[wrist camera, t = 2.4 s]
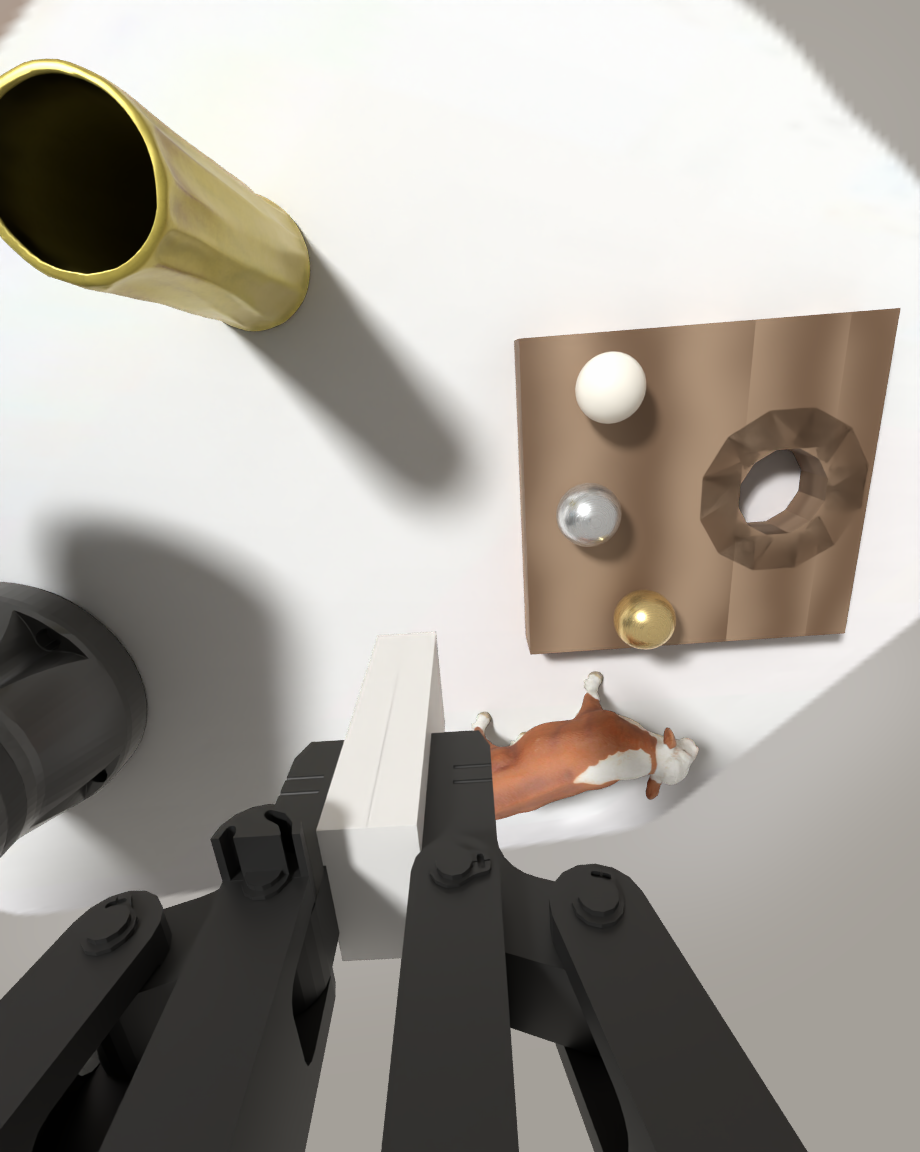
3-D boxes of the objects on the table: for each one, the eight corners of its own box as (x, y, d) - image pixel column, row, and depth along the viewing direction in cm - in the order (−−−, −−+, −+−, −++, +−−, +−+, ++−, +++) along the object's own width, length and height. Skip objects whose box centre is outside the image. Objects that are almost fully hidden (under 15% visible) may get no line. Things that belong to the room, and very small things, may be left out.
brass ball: (606, 635, 33) (621, 662, 30) (607, 583, 32) (622, 605, 29) (662, 631, 33) (683, 658, 30) (665, 579, 32) (687, 601, 29)
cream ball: (569, 422, 29) (583, 429, 26) (569, 354, 28) (582, 353, 25) (633, 417, 29) (654, 424, 26) (635, 349, 28) (657, 347, 25)
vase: (162, 259, 29) (-98, 168, 15) (242, 161, 27) (35, -34, 14) (255, 357, 30) (94, 351, 17) (336, 269, 29) (231, 186, 15)
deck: (525, 635, 36) (530, 654, 33) (514, 340, 30) (519, 338, 28) (819, 615, 35) (844, 633, 33) (865, 312, 30) (900, 308, 27)
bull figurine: (667, 708, 38) (720, 796, 30) (471, 761, 39) (474, 858, 31) (653, 651, 36) (706, 728, 29) (451, 709, 38) (449, 796, 30)
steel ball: (552, 538, 31) (562, 557, 28) (551, 479, 30) (561, 492, 27) (611, 534, 31) (628, 552, 28) (613, 475, 30) (630, 487, 27)
